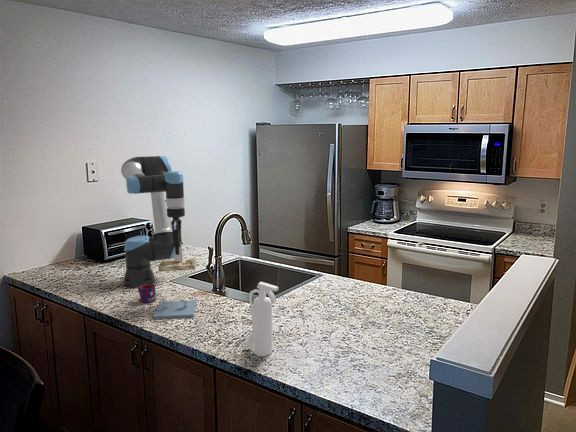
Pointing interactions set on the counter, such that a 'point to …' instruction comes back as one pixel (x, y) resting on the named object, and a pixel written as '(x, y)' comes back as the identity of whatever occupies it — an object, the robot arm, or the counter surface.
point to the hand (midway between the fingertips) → (178, 260)
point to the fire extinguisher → (262, 319)
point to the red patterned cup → (147, 293)
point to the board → (175, 309)
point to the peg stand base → (178, 264)
